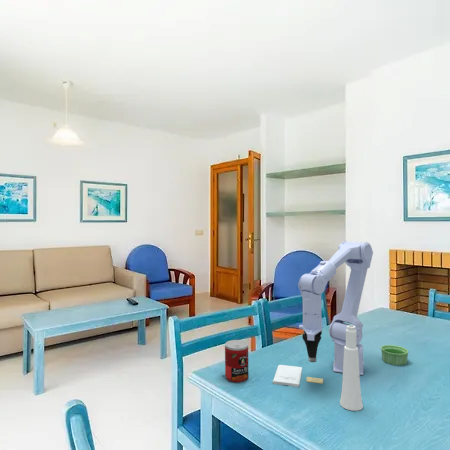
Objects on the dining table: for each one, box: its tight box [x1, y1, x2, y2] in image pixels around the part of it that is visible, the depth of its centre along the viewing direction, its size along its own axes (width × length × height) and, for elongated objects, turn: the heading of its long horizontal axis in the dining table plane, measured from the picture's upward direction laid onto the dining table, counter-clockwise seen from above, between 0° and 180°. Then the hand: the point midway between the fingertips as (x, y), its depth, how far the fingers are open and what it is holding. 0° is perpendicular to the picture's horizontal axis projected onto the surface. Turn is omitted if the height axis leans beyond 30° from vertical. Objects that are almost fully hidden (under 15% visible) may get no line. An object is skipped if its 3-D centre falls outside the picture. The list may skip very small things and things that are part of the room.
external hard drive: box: [272, 364, 303, 388], centre depth 113 cm, size 2×8×12 cm
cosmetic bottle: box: [339, 324, 364, 412], centre depth 95 cm, size 6×6×22 cm
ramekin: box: [380, 344, 409, 366], centre depth 124 cm, size 9×9×4 cm
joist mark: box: [305, 376, 324, 385], centre depth 110 cm, size 5×3×1 cm, turn 72°
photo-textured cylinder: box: [307, 355, 317, 363], centre depth 108 cm, size 2×2×7 cm
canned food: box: [224, 339, 249, 383], centre depth 113 cm, size 8×8×11 cm
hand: (312, 355), depth 108 cm, fingers closed on photo-textured cylinder, 2 cm apart
